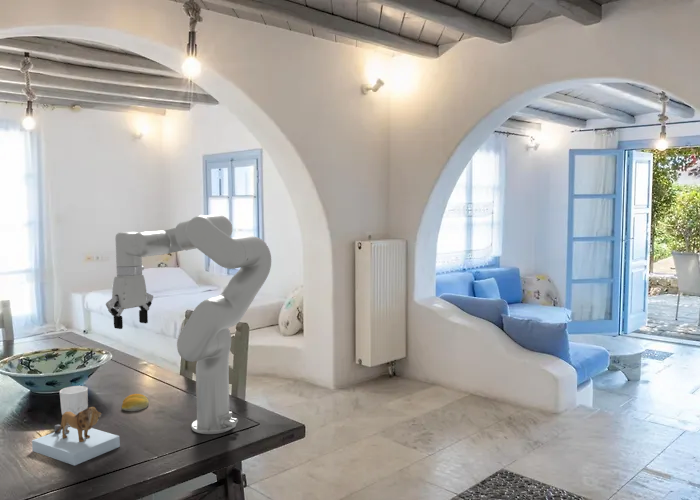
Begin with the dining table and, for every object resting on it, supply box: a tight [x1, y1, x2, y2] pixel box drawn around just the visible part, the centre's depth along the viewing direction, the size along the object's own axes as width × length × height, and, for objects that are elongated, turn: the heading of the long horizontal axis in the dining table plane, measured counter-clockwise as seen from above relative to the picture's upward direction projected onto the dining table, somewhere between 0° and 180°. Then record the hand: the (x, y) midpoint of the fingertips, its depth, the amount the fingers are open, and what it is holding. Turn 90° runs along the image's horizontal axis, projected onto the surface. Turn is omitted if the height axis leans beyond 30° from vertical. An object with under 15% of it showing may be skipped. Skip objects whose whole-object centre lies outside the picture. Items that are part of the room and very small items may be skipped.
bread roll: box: [121, 393, 150, 412], centre depth 202 cm, size 8×9×4 cm
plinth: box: [31, 424, 121, 466], centre depth 168 cm, size 18×14×5 cm
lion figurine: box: [54, 406, 102, 442], centre depth 169 cm, size 15×5×9 cm, turn 72°
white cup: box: [59, 385, 89, 416], centre depth 189 cm, size 8×8×10 cm
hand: (131, 325), depth 194 cm, fingers open, 9 cm apart
